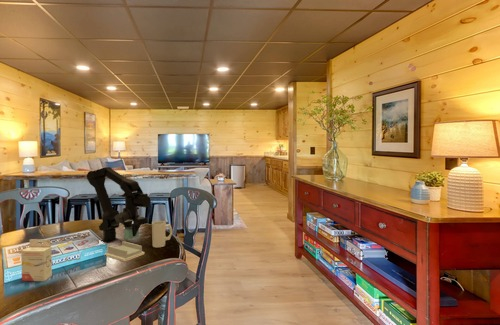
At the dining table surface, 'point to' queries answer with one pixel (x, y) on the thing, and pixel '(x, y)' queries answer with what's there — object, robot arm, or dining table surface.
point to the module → (130, 233)
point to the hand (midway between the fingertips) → (131, 235)
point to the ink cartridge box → (37, 261)
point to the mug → (160, 233)
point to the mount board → (124, 251)
